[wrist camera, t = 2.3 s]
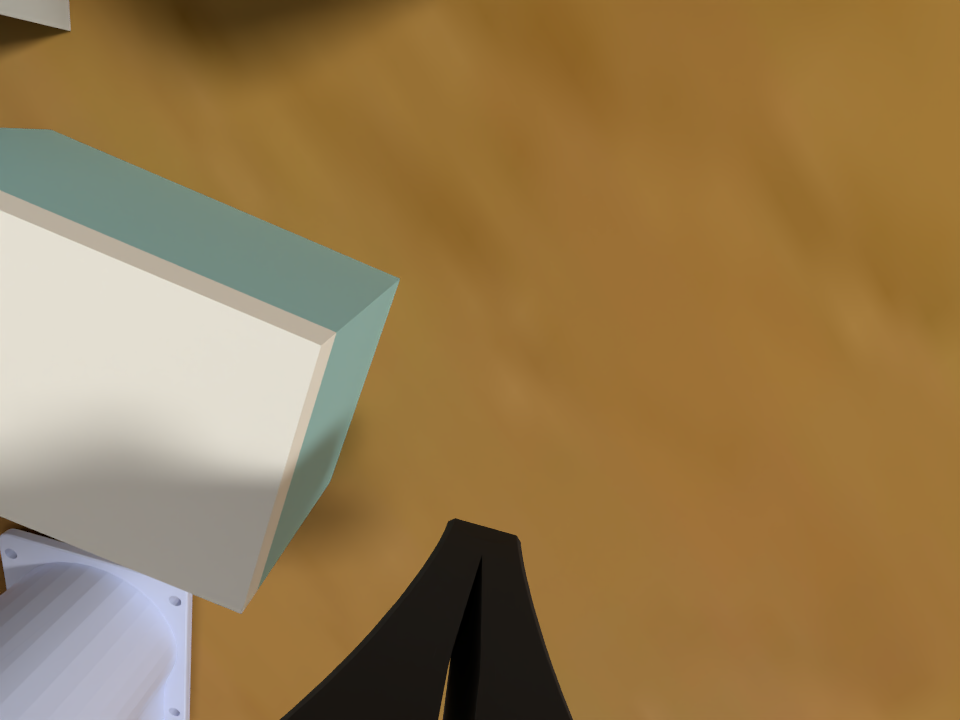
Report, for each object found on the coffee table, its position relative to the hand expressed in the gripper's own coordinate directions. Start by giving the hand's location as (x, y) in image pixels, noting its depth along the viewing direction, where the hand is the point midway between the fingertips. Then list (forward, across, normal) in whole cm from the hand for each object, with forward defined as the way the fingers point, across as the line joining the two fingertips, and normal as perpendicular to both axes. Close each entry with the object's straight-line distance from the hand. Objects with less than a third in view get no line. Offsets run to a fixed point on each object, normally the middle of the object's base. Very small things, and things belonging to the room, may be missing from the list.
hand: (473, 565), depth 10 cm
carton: (+7, +10, 0) cm, 12 cm away
